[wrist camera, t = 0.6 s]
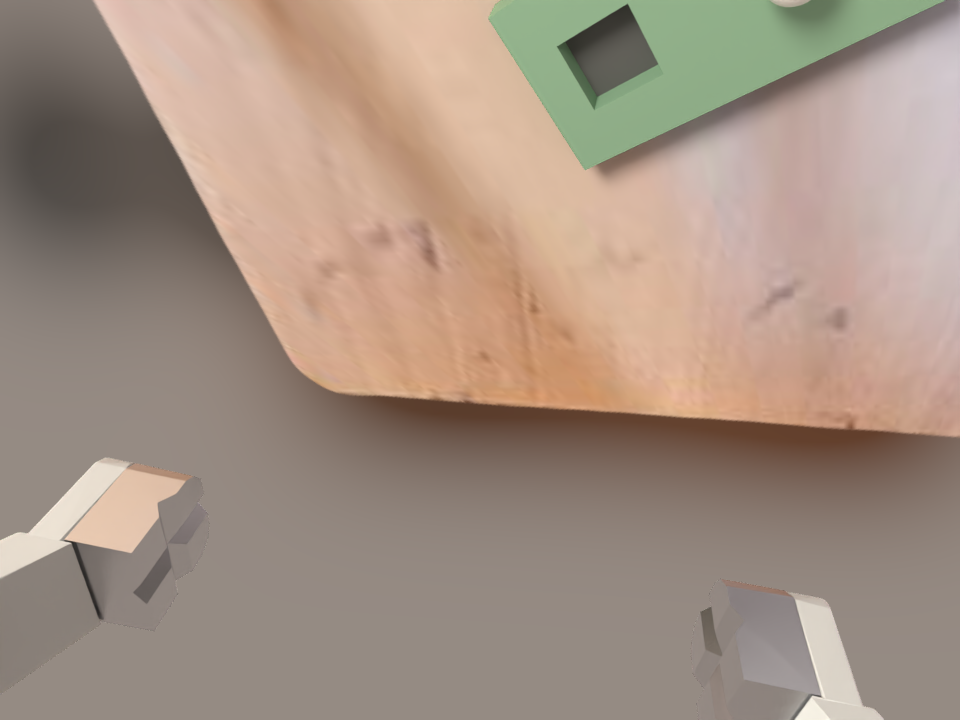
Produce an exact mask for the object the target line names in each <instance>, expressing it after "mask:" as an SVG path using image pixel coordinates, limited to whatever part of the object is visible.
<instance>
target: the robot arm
mask: <svg viewBox="0 0 960 720" xmlns="http://www.w3.org/2000/svg"><path fill="white" fill-rule="evenodd" d="M203 494H204V491H203V487H202V482H201V479H200V478H197V477H194V476H190V475H186V474H181V473H177V472H172V471H168V470H163V469H159V468H155V467H150V466H146V465H141V464H137V463H131V462H126V461H122V460H117V459H112V458H108V457H106V458H104V459H102V460H100V461H97V462H96V463H94V464H93V465H92V467H91V468H90V469H89V470H88V471H87V472H86V473H85V474H84V475H83V476H82V477H81V478H80V479H79V480H78V481H77V482H76V483H75V484H74V486H73V487H72V488H71V489H70V490H69V491H68V492H67V493H66V494H65V495H64V496H63V497H62V498H61V499H60V500H59V501H58V502H57V504H56V505H55V506H54V507H53V508H52V509H51V510H50V511H49V512H48V513H47V514H46V515H45V516H44V517H43V518H42V519H41V520H40V522H39V523H38V524H37V525H36V526H35V527H34V528H33V529H32V530H31V531H30V532H29V533H21V532H18V533H15V534H14V535H11V536H9V537H7V538H4V539H2V540H0V695H1V694H2V693H3V692H5V691H6V690H8V689H9V688H11V687H12V686H14V685H15V684H16V683H18V682H19V681H21V680H22V679H24V678H25V677H26V676H28V675H29V674H31V673H32V672H34V671H35V670H36V669H38V668H39V667H41V666H42V665H43V664H45V663H46V662H48V661H49V660H51V659H52V658H53V657H55V656H56V655H58V654H59V653H61V652H62V651H64V650H65V649H67V648H68V647H69V646H70V645H72V644H74V643H75V642H77V641H78V640H79V639H81V638H82V637H84V636H85V635H87V634H88V633H89V632H91V631H92V630H94V629H95V628H96V627H98V626H99V625H100V624H101V623H100V621H102V622H107V623H113V624H118V625H124V626H129V627H134V628H140V629H145V630H151V631H155V629H156V627H157V626H158V625H159V623H160V621H161V620H162V618H163V617H164V615H165V614H166V612H167V610H168V609H169V607H170V606H171V604H172V602H173V601H174V599H175V598H176V596H177V595H178V593H177V585H176V580H177V579H179V578H181V577H183V576H184V575H186V574H188V573H189V572H191V571H193V569H194V568H195V566H196V564H197V563H198V561H199V559H200V558H201V556H202V554H203V551H204V548H205V545H206V542H207V539H208V534H209V518H208V513H207V512H206V511H205V510H204V509H203V507H202V506H200V504H199V503H198V501H199V500H200V499H201V497H202V496H203ZM709 595H710V602H711V607H709V608H707V609H705V610H703V611H701V612H700V614H699V616H698V619H697V621H696V624H695V626H694V631H693V637H692V642H691V660H692V668H693V675H694V676H695V677H696V679H697V680H698V681H699V683H700V684H701V686H702V687H703V688H704V690H703V692H702V694H701V695H700V697H699V699H698V701H697V703H696V705H697V712H698V720H884V719H883V718H882V717H881V716H880V715H879V713H878V712H877V711H876V710H875V709H873V708H869V707H865V706H863V704H862V701H861V698H860V695H859V692H858V689H857V686H856V683H855V680H854V677H853V675H852V671H851V668H850V665H849V662H848V659H847V656H846V653H845V650H844V647H843V644H842V642H841V638H840V636H839V633H838V630H837V627H836V624H835V621H834V618H833V615H832V612H831V609H830V606H829V605H828V603H827V602H826V601H825V600H824V599H822V598H817V597H811V596H806V595H801V594H796V593H791V592H786V591H784V590H778V589H772V588H767V587H762V586H756V585H751V584H745V583H740V582H735V581H729V580H724V579H720V580H718V581H717V582H716V583H715V584H714V586H713V587H712V589H711V592H710V593H709Z"/></svg>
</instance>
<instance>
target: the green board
mask: <svg viewBox="0 0 960 720" xmlns="http://www.w3.org/2000/svg"><path fill="white" fill-rule="evenodd" d="M943 1H945V0H811V1H809V2H807V3H805V4H803V5H800V6H796V7H782V6H779V5H776V4H774V3H772V2H771V1H770V0H501V1H499V2H498V3H497V4H495V6H494V8H493V10H492V12H491V14H490V16H489V18H488V19H489V21H490V22H491V24H492V25H493V27H494V28H495V30H496V32H497V33H498V35H499V36H500V38H501V39H502V41H503V43H504V44H505V46H506V47H507V49H508V50H509V52H510V54H511V55H512V57H513V58H514V60H515V61H516V63H517V65H518V66H519V68H520V69H521V71H522V72H523V74H524V75H525V77H526V79H527V80H528V82H529V83H530V85H531V86H532V88H533V90H534V91H535V93H536V94H537V96H538V97H539V99H540V101H541V102H542V104H543V105H544V107H545V108H546V110H547V112H548V113H549V115H550V116H551V118H552V119H553V121H554V123H555V124H556V126H557V127H558V129H559V130H560V132H561V134H562V135H563V137H564V138H565V140H566V141H567V143H568V144H569V146H570V148H571V149H572V151H573V152H574V154H575V155H576V157H577V159H578V160H579V162H580V163H581V165H582V166H583V168H584V170H586V169H589V168H591V167H593V166H595V165H597V164H599V163H601V162H603V161H606V160H608V159H610V158H612V157H614V156H616V155H618V154H620V153H623V152H625V151H627V150H629V149H631V148H633V147H635V146H637V145H640V144H642V143H644V142H646V141H648V140H650V139H652V138H654V137H656V136H659V135H661V134H663V133H665V132H667V131H669V130H671V129H673V128H676V127H678V126H680V125H682V124H684V123H686V122H688V121H690V120H693V119H695V118H697V117H699V116H701V115H703V114H705V113H707V112H710V111H712V110H714V109H716V108H718V107H720V106H722V105H724V104H727V103H729V102H731V101H733V100H735V99H737V98H739V97H741V96H743V95H746V94H748V93H750V92H752V91H754V90H756V89H758V88H760V87H763V86H765V85H767V84H769V83H771V82H773V81H775V80H777V79H780V78H782V77H784V76H786V75H788V74H790V73H792V72H794V71H797V70H799V69H801V68H803V67H805V66H807V65H809V64H811V63H813V62H816V61H818V60H820V59H822V58H824V57H826V56H828V55H830V54H833V53H835V52H837V51H839V50H841V49H843V48H845V47H847V46H850V45H852V44H854V43H856V42H858V41H860V40H862V39H864V38H867V37H869V36H871V35H873V34H875V33H877V32H879V31H881V30H883V29H886V28H888V27H890V26H892V25H894V24H896V23H898V22H900V21H903V20H905V19H907V18H909V17H911V16H913V15H915V14H917V13H920V12H922V11H924V10H926V9H928V8H930V7H932V6H934V5H937V4H939V3H941V2H943Z"/></svg>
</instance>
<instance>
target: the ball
mask: <svg viewBox="0 0 960 720" xmlns="http://www.w3.org/2000/svg"><path fill="white" fill-rule="evenodd" d="M770 1H771V2H772V3H774V4H776V5H779V6H782V7H796V6H800V5H803V4H805V3H807V2H809V1H811V0H770Z"/></svg>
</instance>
